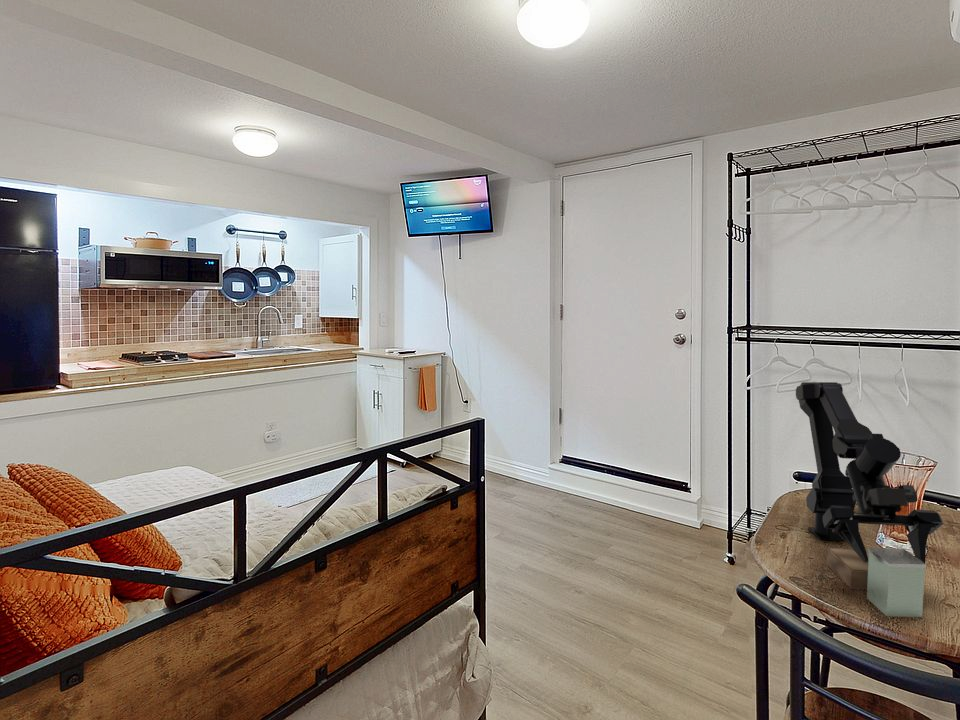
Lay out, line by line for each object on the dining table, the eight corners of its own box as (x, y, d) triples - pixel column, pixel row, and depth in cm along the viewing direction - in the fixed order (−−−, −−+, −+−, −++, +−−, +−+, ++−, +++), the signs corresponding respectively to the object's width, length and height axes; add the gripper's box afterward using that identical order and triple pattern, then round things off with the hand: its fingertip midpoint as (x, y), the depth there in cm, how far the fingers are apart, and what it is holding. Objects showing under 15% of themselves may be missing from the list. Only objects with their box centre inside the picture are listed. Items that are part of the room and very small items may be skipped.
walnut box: (826, 566, 117) (826, 547, 116) (876, 567, 115) (877, 549, 115) (850, 590, 107) (851, 570, 107) (905, 593, 105) (906, 572, 105)
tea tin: (865, 597, 104) (868, 547, 103) (900, 598, 103) (903, 548, 102) (886, 616, 98) (889, 563, 96) (923, 617, 97) (926, 564, 96)
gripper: (830, 466, 106) (852, 544, 96) (940, 470, 101) (975, 552, 92) (813, 491, 114) (833, 565, 104) (915, 495, 110) (944, 573, 100)
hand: (894, 563), depth 100 cm, fingers open, 9 cm apart
